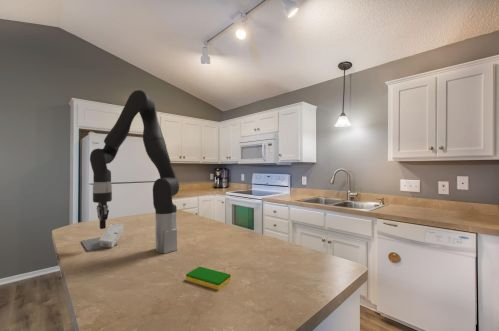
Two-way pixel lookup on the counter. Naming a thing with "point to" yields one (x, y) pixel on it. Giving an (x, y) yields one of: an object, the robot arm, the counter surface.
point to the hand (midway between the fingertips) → (102, 228)
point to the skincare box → (111, 235)
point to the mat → (92, 244)
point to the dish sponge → (208, 277)
